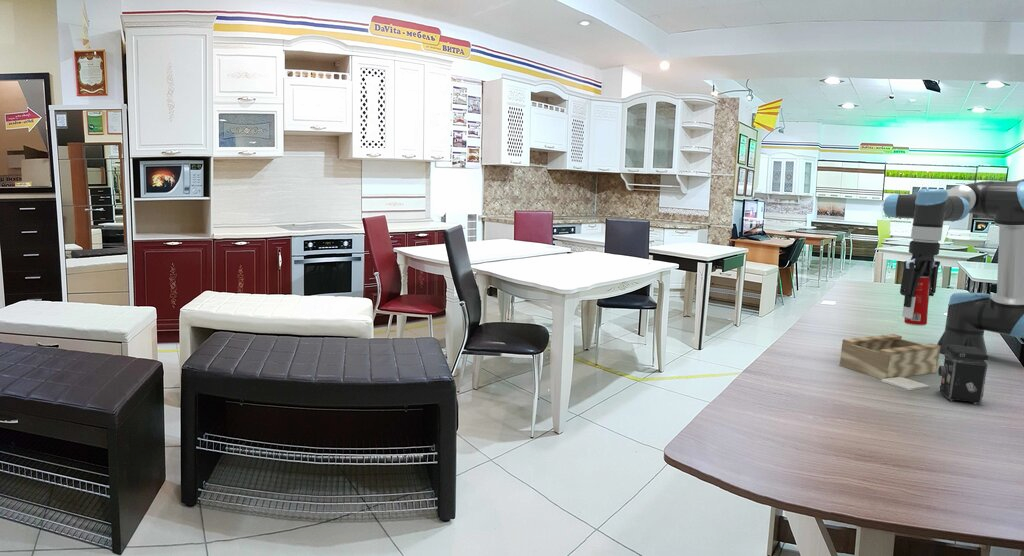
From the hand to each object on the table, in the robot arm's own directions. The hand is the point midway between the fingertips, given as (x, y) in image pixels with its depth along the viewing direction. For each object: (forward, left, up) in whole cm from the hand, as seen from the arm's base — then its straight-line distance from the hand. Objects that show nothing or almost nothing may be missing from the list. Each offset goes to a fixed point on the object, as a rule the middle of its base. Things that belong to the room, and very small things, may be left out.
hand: (914, 316), depth 184 cm
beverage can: (0, 0, -3) cm, 3 cm away
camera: (-4, +13, -22) cm, 26 cm away
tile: (0, 0, -21) cm, 21 cm away
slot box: (-11, -13, -21) cm, 27 cm away
